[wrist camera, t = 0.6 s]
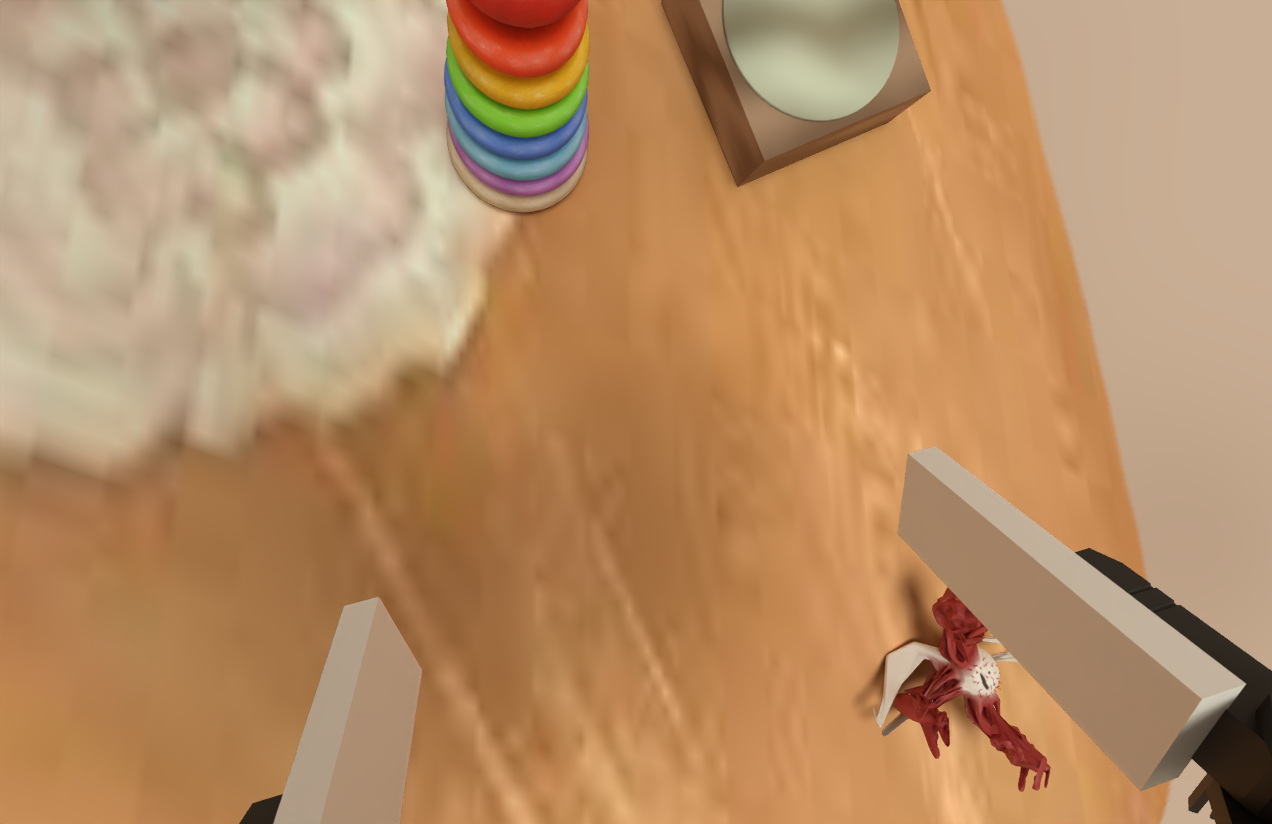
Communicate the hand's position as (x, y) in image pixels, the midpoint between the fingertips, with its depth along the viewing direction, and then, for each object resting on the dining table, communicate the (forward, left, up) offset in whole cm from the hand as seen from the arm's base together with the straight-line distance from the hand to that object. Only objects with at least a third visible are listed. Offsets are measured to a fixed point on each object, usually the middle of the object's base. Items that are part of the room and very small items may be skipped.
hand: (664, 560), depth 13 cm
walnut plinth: (-17, +23, -21) cm, 35 cm away
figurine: (+25, +16, -21) cm, 36 cm away
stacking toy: (-18, +5, -21) cm, 28 cm away
